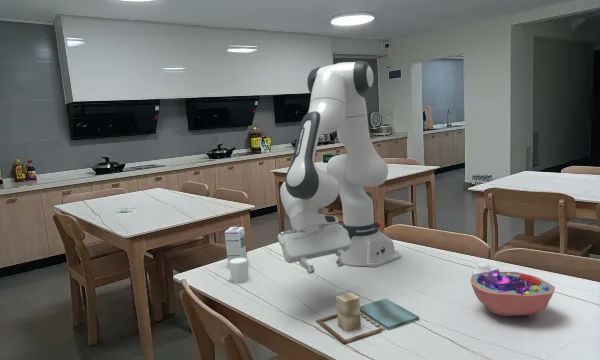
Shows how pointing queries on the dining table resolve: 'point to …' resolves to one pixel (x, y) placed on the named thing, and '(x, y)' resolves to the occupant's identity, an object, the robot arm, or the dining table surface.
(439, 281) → the dining table surface
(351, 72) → the robot arm
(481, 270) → the muffin
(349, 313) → the birch stub block
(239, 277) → the white cylinder
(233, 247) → the syrup box
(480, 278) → the cell model
